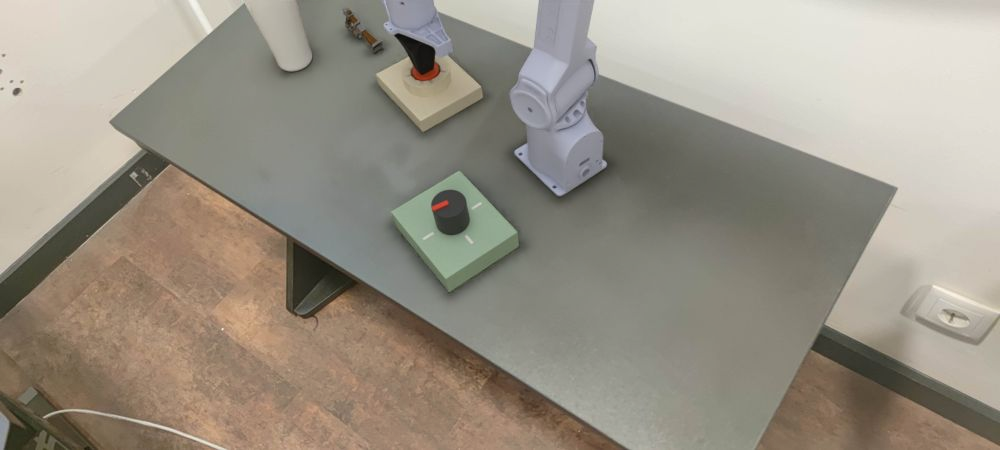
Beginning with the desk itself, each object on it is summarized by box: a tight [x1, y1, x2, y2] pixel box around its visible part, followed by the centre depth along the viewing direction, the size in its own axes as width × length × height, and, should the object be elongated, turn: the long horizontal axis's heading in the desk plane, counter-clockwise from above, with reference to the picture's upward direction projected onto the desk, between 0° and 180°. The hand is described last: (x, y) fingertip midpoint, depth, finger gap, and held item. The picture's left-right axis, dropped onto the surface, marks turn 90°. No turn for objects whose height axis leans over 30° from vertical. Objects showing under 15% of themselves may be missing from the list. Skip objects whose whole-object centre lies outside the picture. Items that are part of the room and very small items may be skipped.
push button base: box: [375, 54, 484, 133], centre depth 97 cm, size 12×10×4 cm
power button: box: [412, 63, 439, 81], centre depth 96 cm, size 4×4×2 cm
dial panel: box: [390, 170, 520, 293], centre depth 83 cm, size 12×10×3 cm
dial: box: [431, 190, 470, 235], centre depth 80 cm, size 4×4×4 cm
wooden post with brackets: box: [341, 6, 383, 54], centre depth 106 cm, size 2×8×4 cm, turn 44°
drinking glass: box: [243, 0, 313, 72], centre depth 99 cm, size 7×7×15 cm
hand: (425, 69), depth 96 cm, fingers closed, pressing on power button
